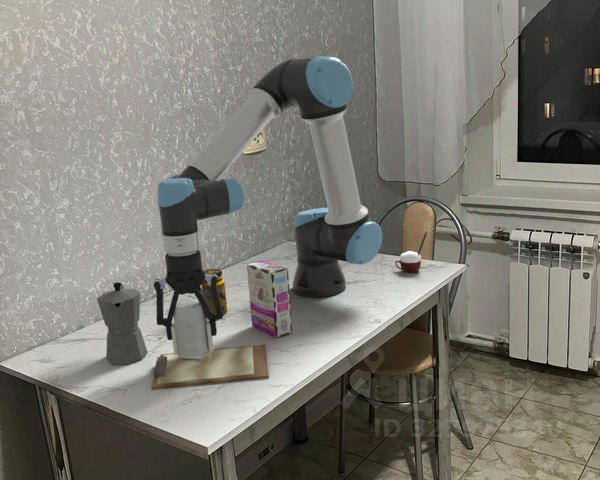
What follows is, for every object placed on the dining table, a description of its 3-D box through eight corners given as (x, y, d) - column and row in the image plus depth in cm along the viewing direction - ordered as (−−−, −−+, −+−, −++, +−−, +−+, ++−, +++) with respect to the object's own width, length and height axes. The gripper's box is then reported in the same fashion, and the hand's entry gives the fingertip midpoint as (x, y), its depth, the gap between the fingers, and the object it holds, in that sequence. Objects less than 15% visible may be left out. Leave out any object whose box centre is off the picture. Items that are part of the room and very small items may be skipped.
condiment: (233, 314, 173) (229, 271, 170) (204, 323, 169) (199, 278, 166) (221, 307, 179) (216, 265, 176) (192, 315, 175) (187, 272, 172)
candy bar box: (293, 332, 159) (289, 268, 155) (277, 338, 156) (271, 273, 152) (267, 320, 168) (262, 259, 163) (251, 326, 165) (245, 263, 160)
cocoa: (394, 273, 199) (390, 235, 196) (402, 267, 204) (399, 230, 201) (423, 276, 194) (420, 237, 190) (431, 269, 198) (428, 231, 195)
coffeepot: (148, 365, 146) (138, 288, 142) (104, 372, 144) (92, 294, 140) (147, 339, 161) (138, 269, 156) (108, 345, 159) (97, 274, 154)
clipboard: (265, 346, 152) (265, 339, 151) (268, 377, 136) (268, 370, 136) (160, 356, 150) (159, 349, 150) (152, 389, 135) (150, 381, 134)
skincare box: (211, 352, 147) (205, 301, 144) (202, 360, 144) (196, 308, 140) (186, 350, 149) (181, 300, 146) (177, 358, 146) (171, 307, 142)
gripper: (132, 260, 136) (146, 362, 142) (229, 252, 137) (238, 353, 143) (137, 251, 143) (151, 348, 149) (229, 243, 145) (238, 339, 151)
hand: (194, 350), depth 146 cm, fingers closed on skincare box, 7 cm apart
